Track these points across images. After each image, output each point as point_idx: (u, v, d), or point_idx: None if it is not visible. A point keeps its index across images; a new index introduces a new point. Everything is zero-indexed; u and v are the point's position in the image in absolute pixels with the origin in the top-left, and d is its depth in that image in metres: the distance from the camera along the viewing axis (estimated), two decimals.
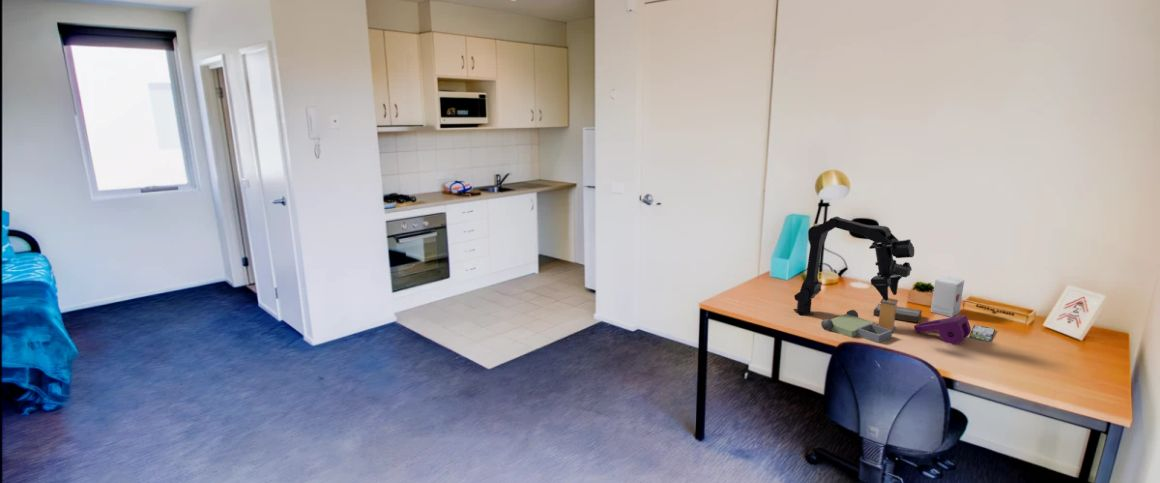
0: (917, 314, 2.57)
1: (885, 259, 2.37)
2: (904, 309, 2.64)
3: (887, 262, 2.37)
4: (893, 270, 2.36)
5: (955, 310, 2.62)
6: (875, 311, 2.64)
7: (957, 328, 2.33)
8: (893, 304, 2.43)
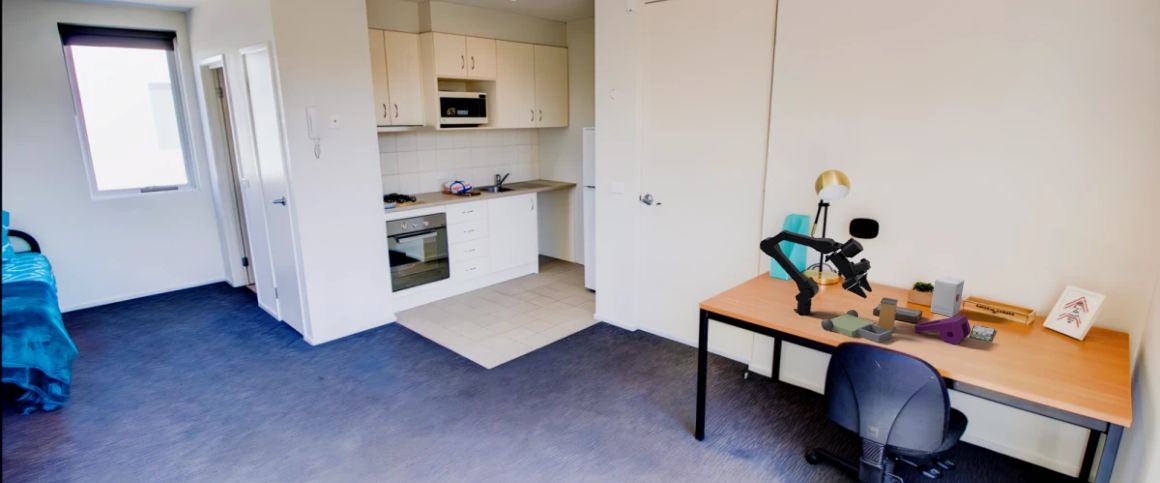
0: (916, 314, 2.56)
1: (843, 264, 2.52)
2: (905, 309, 2.64)
3: (846, 265, 2.51)
4: (855, 269, 2.49)
5: (955, 310, 2.62)
6: (874, 311, 2.64)
7: (956, 328, 2.33)
8: (893, 304, 2.43)
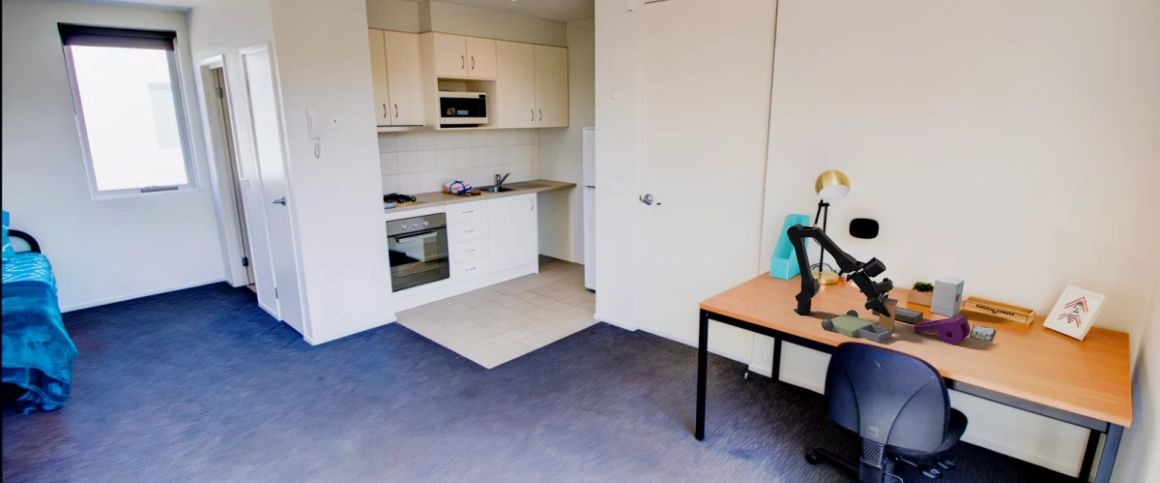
0: (915, 315, 2.56)
1: (865, 283, 2.48)
2: (905, 310, 2.63)
3: (869, 284, 2.48)
4: (878, 289, 2.46)
5: (955, 310, 2.62)
6: (873, 310, 2.65)
7: (955, 328, 2.33)
8: (893, 304, 2.43)
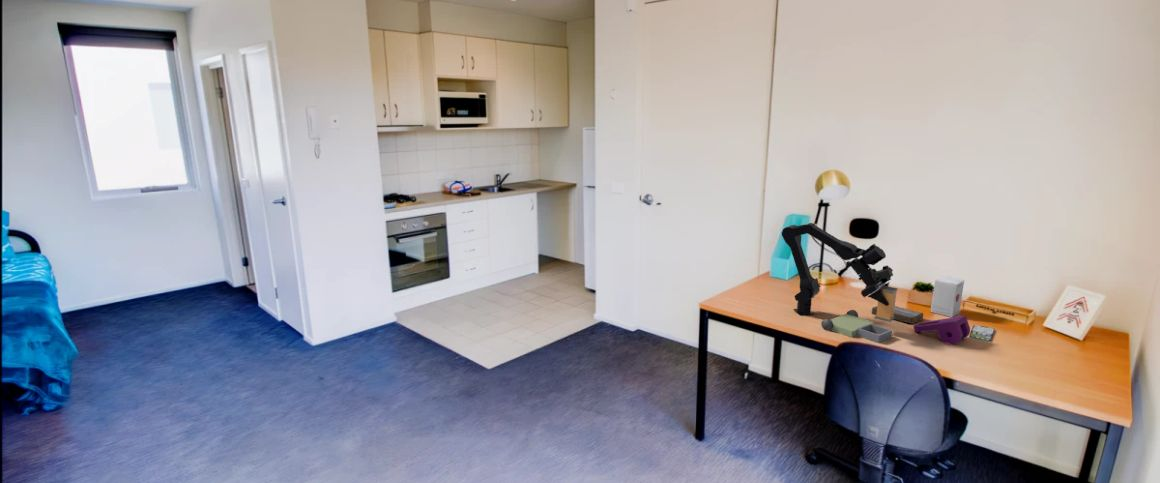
0: (913, 316, 2.55)
1: (864, 270, 2.45)
2: (906, 310, 2.62)
3: (867, 272, 2.45)
4: (876, 276, 2.42)
5: (955, 310, 2.62)
6: (873, 309, 2.66)
7: (955, 328, 2.33)
8: (891, 292, 2.39)
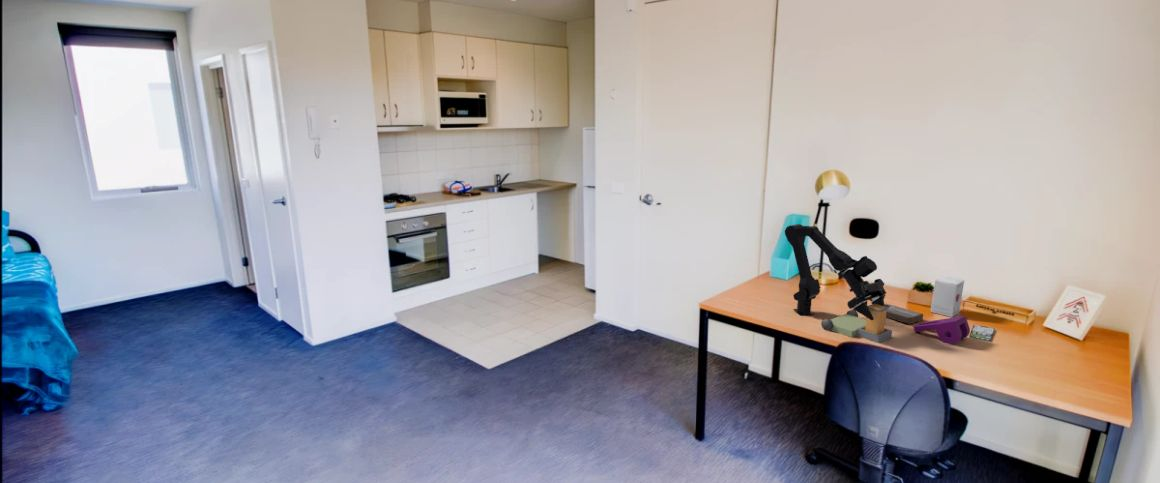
0: (911, 316, 2.55)
1: (854, 282, 2.43)
2: (906, 310, 2.62)
3: (857, 284, 2.43)
4: (865, 289, 2.40)
5: (955, 310, 2.62)
6: None
7: (954, 328, 2.33)
8: (878, 310, 2.37)
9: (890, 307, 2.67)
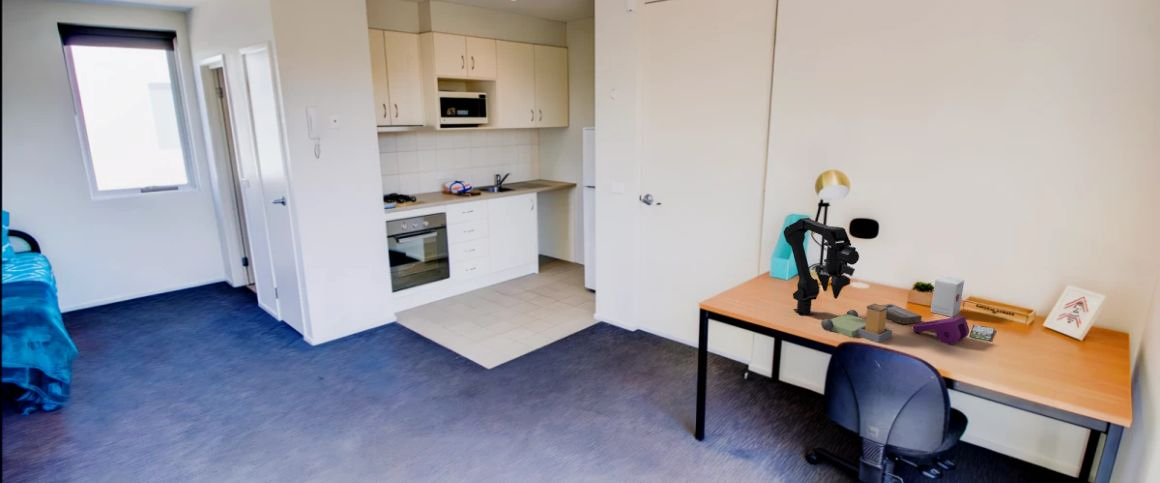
0: (906, 316, 2.54)
1: None
2: (905, 311, 2.61)
3: (840, 261, 2.46)
4: (844, 269, 2.47)
5: (955, 310, 2.62)
6: None
7: (953, 328, 2.33)
8: (878, 310, 2.37)
9: (892, 307, 2.67)
